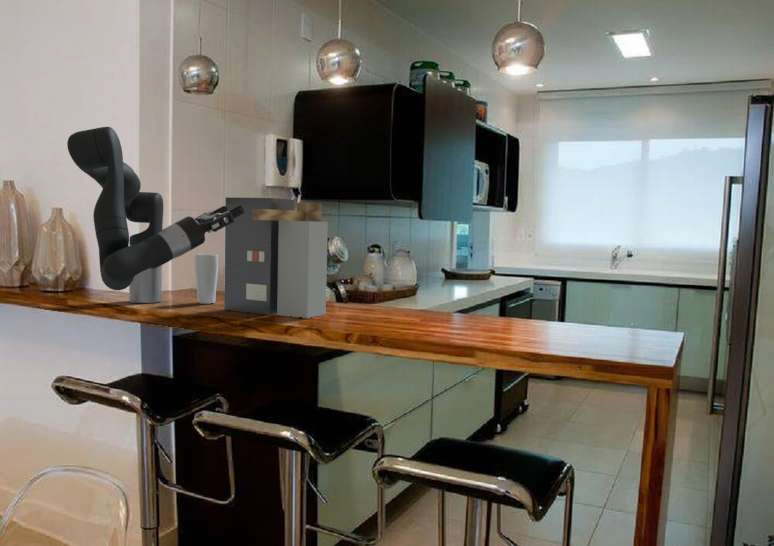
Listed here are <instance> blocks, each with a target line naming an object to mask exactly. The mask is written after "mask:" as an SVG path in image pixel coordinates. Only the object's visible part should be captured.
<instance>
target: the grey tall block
mask: <svg viewBox="0 0 774 546" xmlns="http://www.w3.org/2000/svg"><path fill="white" fill-rule="evenodd" d="M328 225H329V223H328V221H321V222H315V221H281V220H279V231H278V291H277V314H276V316H282V317H283V316H284V317H290V316H292V317H291V318H299V317H302V319H312V318H315V317H316V316H317V317H321V316H325V315H326V314H327V307H326V306H327V276H328V273H327V271H328V269H327V268H328V235H329V234H328V233H329V232H328V231H329V230H328V228H329V227H328ZM311 317H312V318H311Z"/></svg>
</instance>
